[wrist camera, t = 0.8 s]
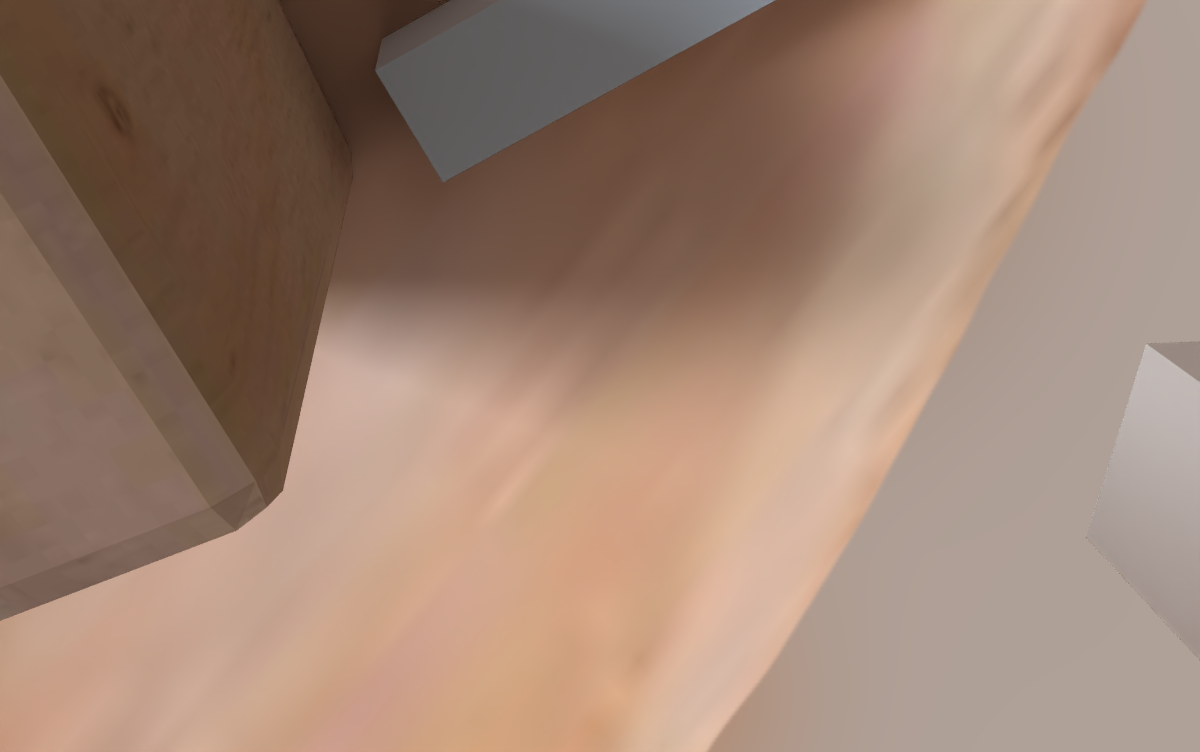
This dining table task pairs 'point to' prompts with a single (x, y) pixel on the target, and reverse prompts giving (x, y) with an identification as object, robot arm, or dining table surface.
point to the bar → (528, 64)
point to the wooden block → (153, 277)
